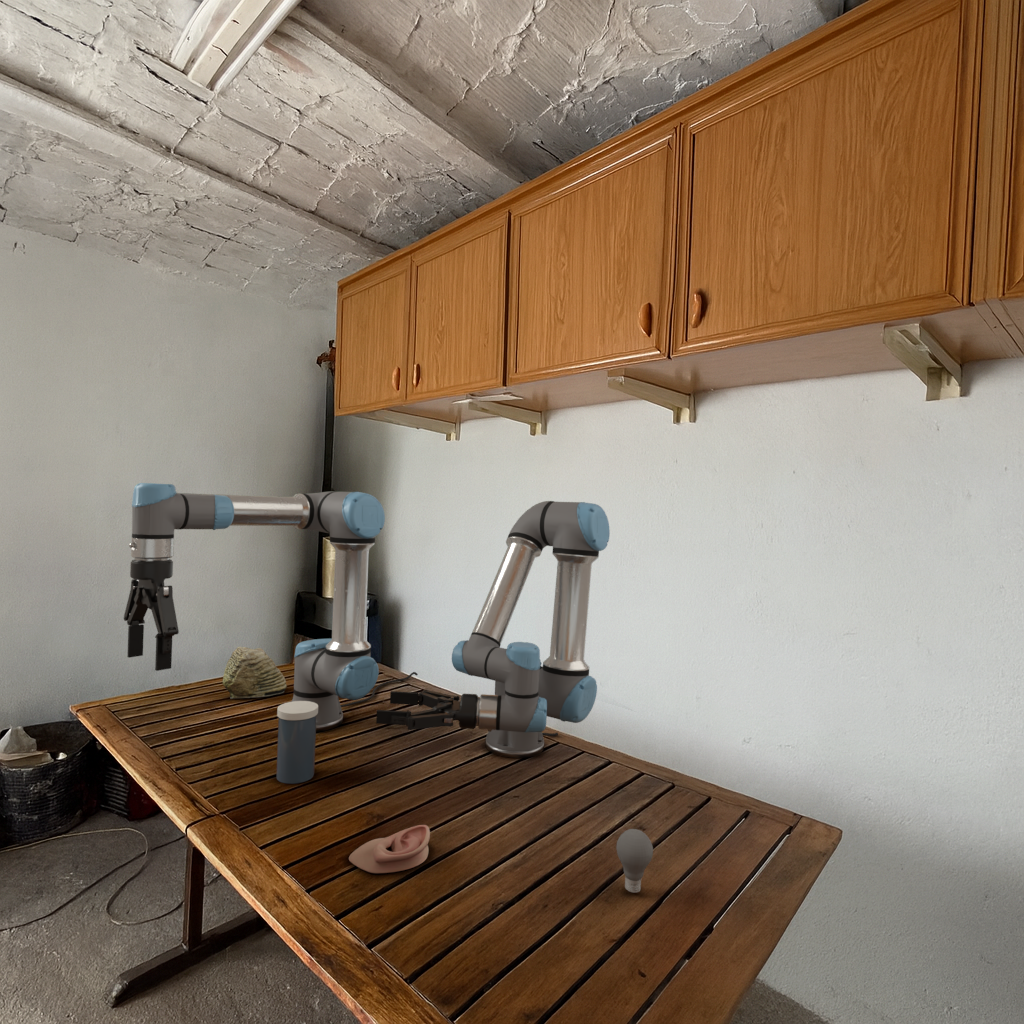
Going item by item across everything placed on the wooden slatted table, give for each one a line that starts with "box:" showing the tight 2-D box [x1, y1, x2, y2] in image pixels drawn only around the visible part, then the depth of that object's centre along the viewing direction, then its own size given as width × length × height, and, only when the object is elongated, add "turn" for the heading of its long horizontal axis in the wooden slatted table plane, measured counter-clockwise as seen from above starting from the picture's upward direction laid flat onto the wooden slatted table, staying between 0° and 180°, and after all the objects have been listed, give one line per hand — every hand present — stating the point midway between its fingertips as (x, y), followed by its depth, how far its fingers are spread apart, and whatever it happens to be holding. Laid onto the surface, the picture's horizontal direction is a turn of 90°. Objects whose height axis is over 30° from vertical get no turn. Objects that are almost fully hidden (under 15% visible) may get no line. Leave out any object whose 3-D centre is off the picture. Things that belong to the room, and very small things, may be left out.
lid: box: [276, 701, 318, 720], centre depth 143 cm, size 9×9×2 cm
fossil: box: [222, 646, 288, 699], centre depth 198 cm, size 9×18×15 cm, turn 132°
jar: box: [275, 715, 317, 785], centre depth 143 cm, size 8×8×15 cm
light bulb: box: [615, 828, 654, 894], centre depth 106 cm, size 6×6×10 cm
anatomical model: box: [348, 824, 431, 874], centre depth 113 cm, size 13×4×12 cm
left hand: (148, 662), depth 129 cm, fingers open, 13 cm apart
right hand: (383, 706), depth 143 cm, fingers open, 13 cm apart
